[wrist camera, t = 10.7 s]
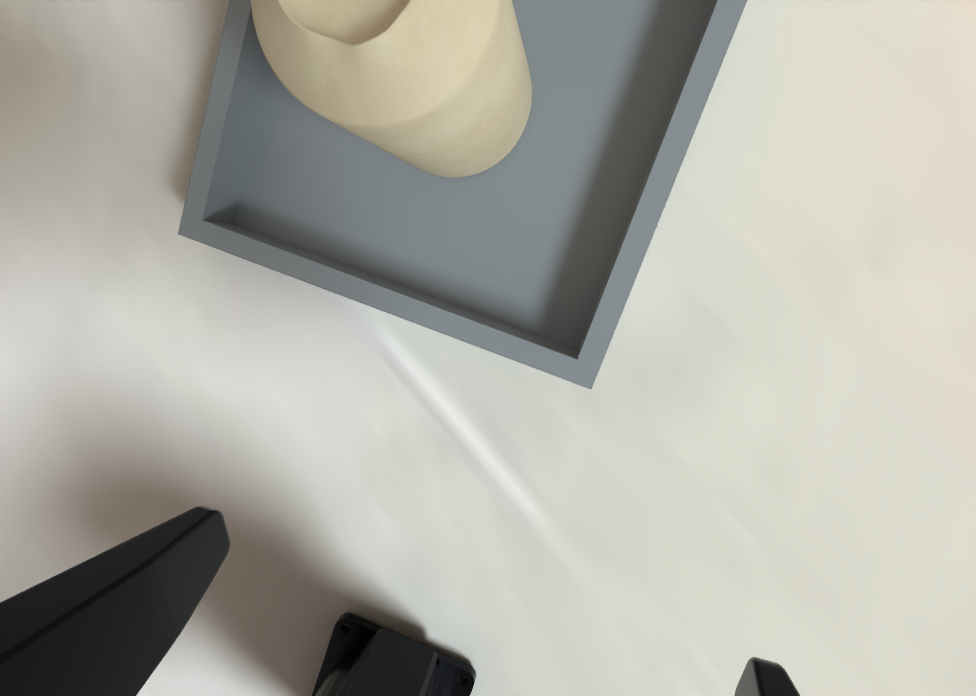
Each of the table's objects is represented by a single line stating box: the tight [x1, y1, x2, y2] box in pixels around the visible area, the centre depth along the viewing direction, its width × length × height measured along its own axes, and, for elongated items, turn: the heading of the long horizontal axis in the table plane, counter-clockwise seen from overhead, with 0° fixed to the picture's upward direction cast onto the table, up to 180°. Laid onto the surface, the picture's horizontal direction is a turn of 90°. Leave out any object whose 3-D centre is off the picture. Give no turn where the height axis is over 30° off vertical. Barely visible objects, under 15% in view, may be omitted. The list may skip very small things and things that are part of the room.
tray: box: [178, 0, 747, 389], centre depth 19 cm, size 16×16×2 cm
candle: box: [251, 0, 532, 178], centre depth 15 cm, size 6×6×10 cm
